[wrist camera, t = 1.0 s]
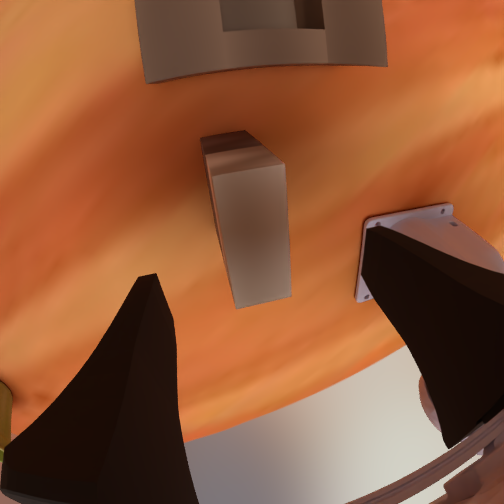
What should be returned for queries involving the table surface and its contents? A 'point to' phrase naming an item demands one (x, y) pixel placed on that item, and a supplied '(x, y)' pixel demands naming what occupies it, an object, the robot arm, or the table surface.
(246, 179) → the rectangular block end
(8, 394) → the plant pot
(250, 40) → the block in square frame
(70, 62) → the table surface
